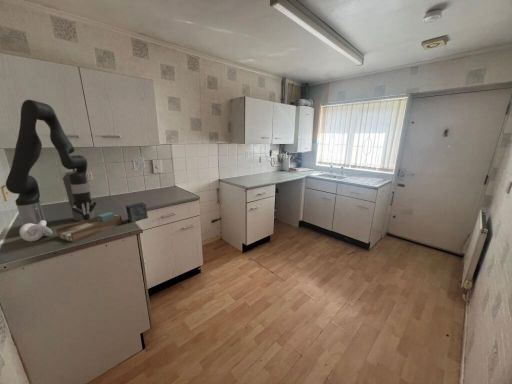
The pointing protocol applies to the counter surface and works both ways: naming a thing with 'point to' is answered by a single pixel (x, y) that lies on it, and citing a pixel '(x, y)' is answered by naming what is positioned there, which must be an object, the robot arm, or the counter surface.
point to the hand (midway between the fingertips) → (86, 219)
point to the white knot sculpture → (34, 231)
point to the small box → (136, 212)
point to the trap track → (86, 228)
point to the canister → (70, 196)
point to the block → (105, 216)
